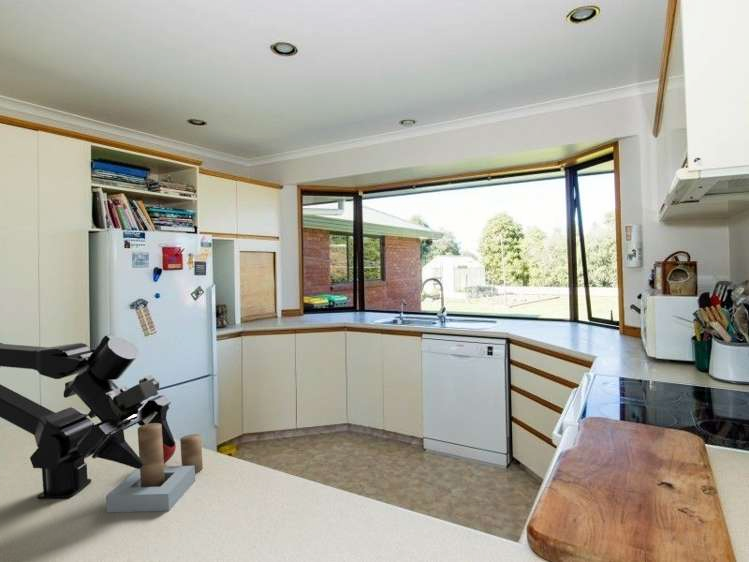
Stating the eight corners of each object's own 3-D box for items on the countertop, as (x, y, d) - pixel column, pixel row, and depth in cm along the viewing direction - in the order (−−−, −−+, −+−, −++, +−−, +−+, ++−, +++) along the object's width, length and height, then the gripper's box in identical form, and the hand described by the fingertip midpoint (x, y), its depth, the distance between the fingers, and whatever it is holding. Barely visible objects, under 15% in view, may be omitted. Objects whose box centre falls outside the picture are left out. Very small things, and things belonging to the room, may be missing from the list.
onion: (164, 472, 94) (162, 434, 94) (140, 470, 95) (138, 433, 95) (181, 460, 99) (179, 424, 99) (158, 458, 101) (156, 423, 100)
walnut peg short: (178, 475, 92) (176, 441, 92) (187, 466, 96) (185, 434, 96) (198, 474, 92) (196, 441, 92) (205, 466, 96) (204, 433, 96)
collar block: (106, 512, 79) (105, 495, 79) (140, 482, 90) (139, 467, 90) (169, 510, 79) (168, 493, 78) (195, 480, 90) (194, 465, 89)
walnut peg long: (137, 501, 82) (133, 431, 82) (148, 490, 86) (144, 423, 86) (159, 500, 82) (154, 430, 82) (169, 489, 86) (165, 422, 86)
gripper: (87, 379, 75) (151, 447, 73) (159, 356, 93) (211, 409, 92) (50, 425, 76) (111, 492, 75) (128, 393, 95) (178, 446, 93)
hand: (158, 455), depth 84 cm, fingers open, 9 cm apart
